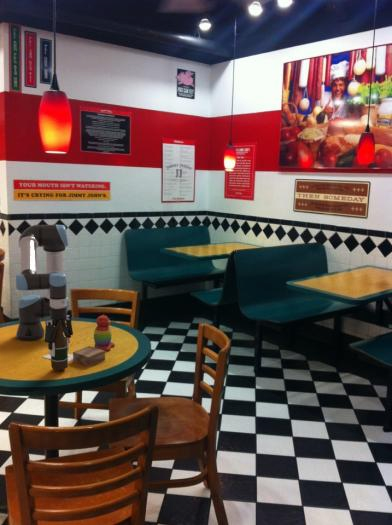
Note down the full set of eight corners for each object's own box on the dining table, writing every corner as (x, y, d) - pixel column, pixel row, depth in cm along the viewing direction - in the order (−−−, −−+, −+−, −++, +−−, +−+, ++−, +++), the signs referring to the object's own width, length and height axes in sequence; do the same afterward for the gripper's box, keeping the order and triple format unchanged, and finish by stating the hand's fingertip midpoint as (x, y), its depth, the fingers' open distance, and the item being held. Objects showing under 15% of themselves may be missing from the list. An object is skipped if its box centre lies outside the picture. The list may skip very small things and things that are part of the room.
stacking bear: (108, 352, 266) (108, 319, 263) (90, 350, 268) (90, 317, 265) (115, 345, 277) (115, 313, 273) (98, 343, 279) (98, 312, 275)
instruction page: (42, 357, 256) (42, 356, 256) (55, 351, 265) (55, 350, 265) (66, 363, 250) (66, 362, 250) (79, 356, 259) (79, 355, 259)
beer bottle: (52, 364, 244) (51, 316, 239) (69, 364, 245) (68, 316, 240) (49, 370, 237) (48, 321, 232) (66, 370, 237) (65, 321, 233)
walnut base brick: (73, 361, 253) (73, 352, 252) (89, 355, 262) (89, 346, 261) (88, 366, 247) (88, 357, 246) (104, 360, 256) (104, 350, 255)
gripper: (45, 313, 224) (46, 361, 229) (80, 303, 241) (81, 348, 246) (34, 309, 228) (36, 357, 233) (69, 300, 245) (70, 345, 250)
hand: (59, 353), depth 239 cm, fingers closed on beer bottle, 8 cm apart
